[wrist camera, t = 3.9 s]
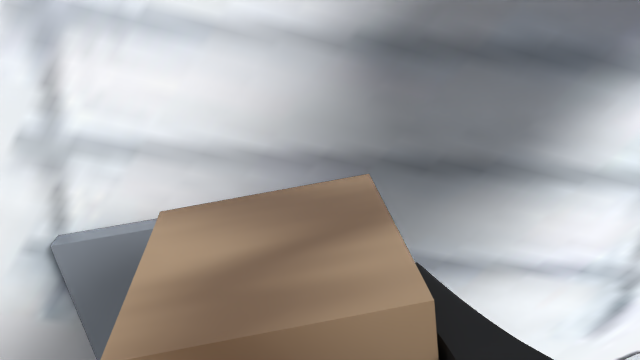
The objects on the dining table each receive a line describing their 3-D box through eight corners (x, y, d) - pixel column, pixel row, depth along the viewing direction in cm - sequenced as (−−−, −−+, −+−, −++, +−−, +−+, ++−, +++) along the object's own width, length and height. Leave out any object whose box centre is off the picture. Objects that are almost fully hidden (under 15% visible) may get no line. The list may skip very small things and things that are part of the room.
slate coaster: (368, 183, 20) (372, 191, 19) (392, 406, 25) (396, 420, 24) (58, 235, 19) (50, 246, 19) (145, 453, 24) (141, 468, 24)
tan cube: (369, 173, 12) (434, 300, 8) (389, 337, 14) (449, 515, 10) (160, 211, 12) (98, 365, 7) (210, 372, 14) (185, 571, 9)
